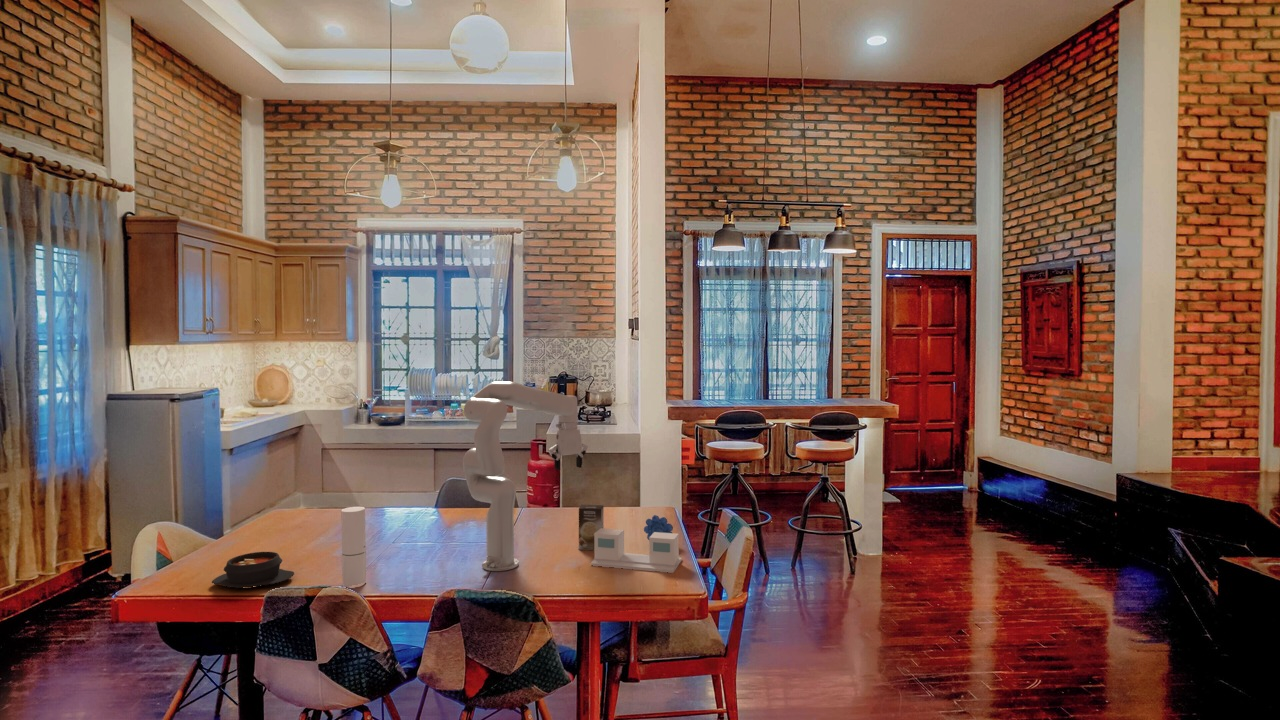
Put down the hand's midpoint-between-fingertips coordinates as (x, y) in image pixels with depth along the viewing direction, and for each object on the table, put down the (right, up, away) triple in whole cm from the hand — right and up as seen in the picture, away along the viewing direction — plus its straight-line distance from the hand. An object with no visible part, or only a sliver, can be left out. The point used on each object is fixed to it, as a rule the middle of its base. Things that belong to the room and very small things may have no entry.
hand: (568, 468), depth 270 cm
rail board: (+28, -29, -30) cm, 50 cm away
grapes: (+36, -29, -11) cm, 47 cm away
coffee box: (+10, -29, -12) cm, 33 cm away
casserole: (-100, -31, -47) cm, 114 cm away
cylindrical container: (-65, -31, -50) cm, 87 cm away
